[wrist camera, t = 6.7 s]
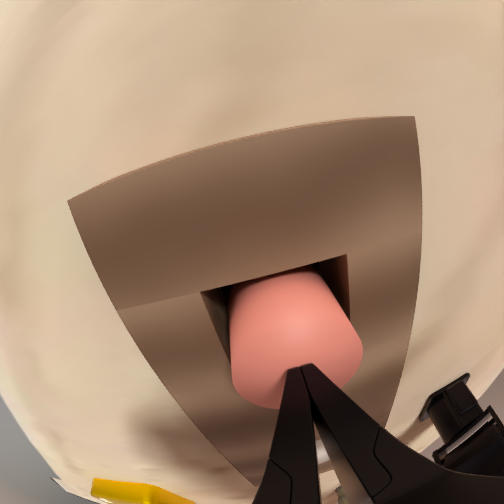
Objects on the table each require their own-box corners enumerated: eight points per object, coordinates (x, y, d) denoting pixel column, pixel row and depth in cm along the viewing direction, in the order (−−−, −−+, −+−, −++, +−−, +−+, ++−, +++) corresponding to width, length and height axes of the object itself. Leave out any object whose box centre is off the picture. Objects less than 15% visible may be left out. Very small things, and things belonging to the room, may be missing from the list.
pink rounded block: (328, 324, 13) (359, 388, 9) (242, 347, 13) (250, 418, 9) (320, 245, 11) (364, 302, 7) (215, 272, 11) (213, 342, 7)
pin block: (361, 426, 23) (373, 455, 19) (251, 455, 23) (255, 486, 19) (362, 117, 11) (414, 116, 7) (110, 179, 11) (67, 200, 7)
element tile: (198, 501, 34) (199, 521, 29) (138, 499, 35) (136, 516, 30) (152, 481, 28) (150, 506, 23) (89, 475, 28) (85, 495, 24)
